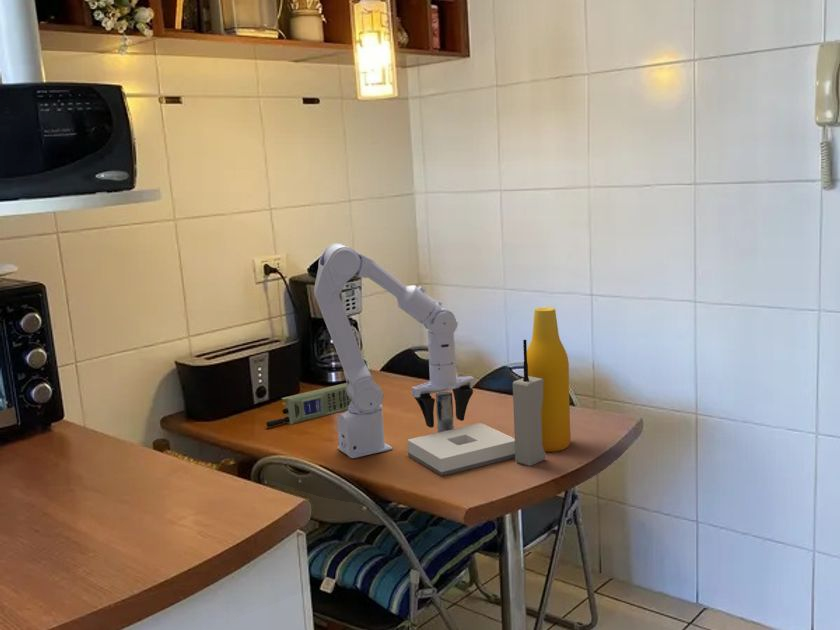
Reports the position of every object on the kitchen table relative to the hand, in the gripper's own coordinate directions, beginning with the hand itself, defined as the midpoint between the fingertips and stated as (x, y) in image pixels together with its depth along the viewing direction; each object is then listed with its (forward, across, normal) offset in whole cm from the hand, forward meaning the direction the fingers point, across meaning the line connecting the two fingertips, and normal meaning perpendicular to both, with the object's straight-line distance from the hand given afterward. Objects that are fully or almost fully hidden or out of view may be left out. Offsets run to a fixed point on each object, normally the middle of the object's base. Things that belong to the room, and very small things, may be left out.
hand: (445, 422), depth 183 cm
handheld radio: (+4, -18, +33) cm, 38 cm away
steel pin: (+3, 0, 0) cm, 3 cm away
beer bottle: (+4, +15, -17) cm, 23 cm away
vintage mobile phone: (+4, +6, -23) cm, 24 cm away
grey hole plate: (+3, -3, -12) cm, 13 cm away
